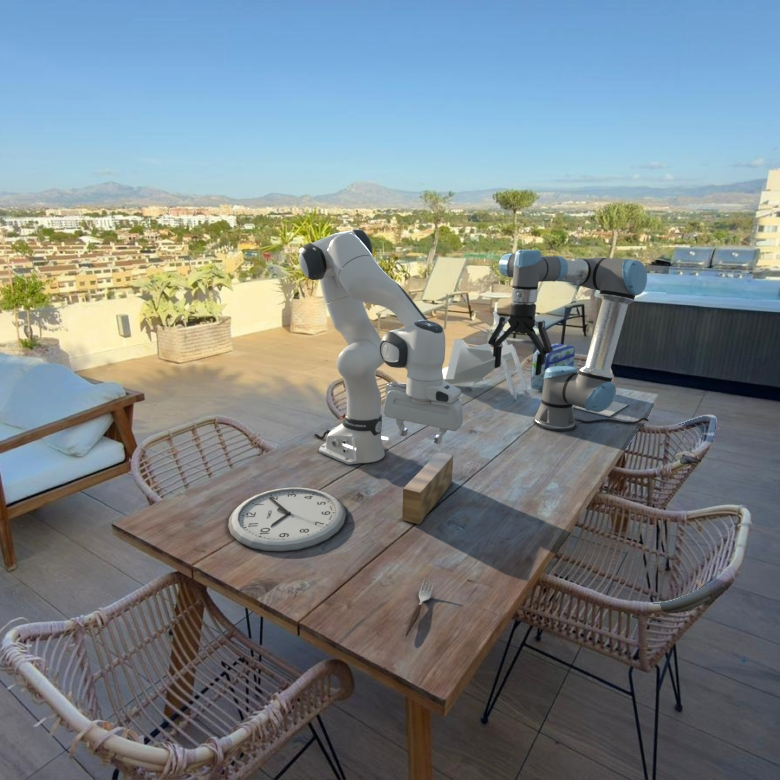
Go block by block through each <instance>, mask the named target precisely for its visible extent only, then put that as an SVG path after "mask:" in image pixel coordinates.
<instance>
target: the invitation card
mask: <svg viewBox="0 0 780 780" xmlns="http://www.w3.org/2000/svg"><path fill="white" fill-rule="evenodd" d="M628 406H629V404H627V403H623V402H618V401H614V400H613V401H612V403H611V404H610V406H609V407H607V408H606V409H605V410H604V411H601V412H594V411H590V410H586V409H584V408H581V407H578V406H574V407H573V409H575V410H581V411H584V412H587V413H593V414H596V415H600V416H604V417H608V418H609V417H611V416H613V415H614V414H616V413H617V412H619V411H621V410H623V409H624V408H626V407H628Z"/></svg>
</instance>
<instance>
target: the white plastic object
mask: <svg viewBox="0 0 780 780" xmlns="http://www.w3.org/2000/svg"><path fill="white" fill-rule="evenodd" d="M492 315H493V319H494V321H495V324H496V325H495V326H496V327H497V326H498V324H499V319H500V315H499V314H498V312H497V311H496V310H495V311H492ZM504 333H505V331H504V328H503V329H502V331H501V332H500V334H499V338H500V337H501V336H502V335H503V334H504ZM490 345H491V344H488V342H487V343H483V344H479V345H473V346H469V345H468V343H466V342H465V340H464V339H463V338H460V339H458V338H454V340H453V344H452V349H451V353H450V357H449V362H448V366H446V367H444V368H442V373H443V380H444V381H446V382H447V383H449V384H451V385H458V384H467V383H468V384H469V383H473V384H477V383H480V382H482V381H484V378H485V377H486V376H487V375H489V374H490V373H492V372H494V371H495V370H496V369H497V368H494V367H495V357H493V347H491V346H490ZM501 345H502V352H501V364H500V366H502V370H503V373H504V376H505V380H506V383H507V386H508V390H509V393H510V394H511V395H512V397H513V398H514V399H515V400H517V392H516V391H517V390H516V388H515V385H514V381H513V378H512V375H511V371H510V369H509V365H508V361H510V360H513V363H514V366H515V369H516V372H517V376H518V380H519V382H520V385H521V389H522V391H523V393H524V395H525V396H526V397H528V396H531V395H530V390H529V388H528V387H529V386H528V384H527V381H526V378H525V375H524V371H523V369H522V368H523V367H522V366H521V362H520V359H519V355H518V352H517V349H516V347H515V346H514V345H513V343H511V344H508V341H507V338H506V339H505V340H504V341H503V342H502V343H501Z"/></svg>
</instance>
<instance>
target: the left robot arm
mask: <svg viewBox="0 0 780 780" xmlns="http://www.w3.org/2000/svg"><path fill="white" fill-rule="evenodd" d="M297 256H298V257H297V258H298V265H299V268H300V270H301V272H302V273H303V274H304V276H305V278H307V279H308V280H311V281H319V284H320V289H321V293H322V296H323V300H324V302H325V306H326V308H327V311H328V314H329V316H330V317H329V318H330V320H331V322H332V324H333V327H334V329H335V330H336V331H337V332H339V334H341V336H342V337H343V339H344V340H345V341H346V343H347V346H345V347H344V348H343V349H342V350H341V352H340V353H339V354H338V357H337V359H336V369H337V371H338V373H339V374H340V376H341V377H342V380H343V383H344V387H345V395H346V412H345V413H343V414H342V415H340V416H339V420H340V421H341V420H342V423H340V424H339V425H335V426H333V427H331V428H328V429H326V431H324V433H323V434H322V435H319V434H317V433H315V434H314V436H315V437H316V438H318V439H320V440H321V439H325V438H326V439H325V442H324V443H322V445H320V447H319V449H318V452H319V453H320V454H322V455H325V456H327V457H329V458H332V459H334V460H336V461H338V462H341V463H343V464H346V465H356V464H370V463H375V462H378V461H380V460H382V459H383V458H384V457H385V456H386V451H385V449H384V444H383V440H385V441H389V437H388V436H383V435H382V428H383V415H382V413H381V410H382V408H381V407H382V406H381V405H382V392H381V390H380V388H379V386H378V382H377V374H376V373H377V370H378V369H379V368H380V367H382V366H383V365H384V364H385V365H387V367H391V368H394V369H402V368H403V369H406V371H407V374H406V383H403V382H397V381H391V382H389V383H387V384H386V385H385V390H384V392H385V399H384V405H383V414H384V416H385V417H386V418H390V419H395V423H396V425H397V427H398V429H399V436H402V437H406V436H407V435H408V427H406V426H405V424H404V421H405V422H409V423H413V424H418V425H423V426H427V427H432V428H437V429H439V430H438V432H439V434H436V435H435V436H434V441H433V444H436V445H441V444H442V442H443V436H444V435H445V434H446V432H447V431H451V432H457V431H458V430H459V429H460V428H461V427H462V425H463V418H464V417H463V416H464V415H463V413H464V411H463V410H464V409H463V403H462V401H461V399H459V398H460V397H461V394H462V391H461V389H460V388H459V387H458V386H455V385H454V384H449V383H447V382H446V381H444V380H443V373H442V369H443V365H444V363H445V360H446V359H445V357H446V334H445V330H444V327H443V326H442V325H440V323H438V322H436V321H433V320H428V318H427V317H426V316H425V314H423V312H422V311H421V309H420V308H419V307H418V306H417V304H416V302H414V301H413V299H412V298H411V297H410V295H409V294H408V293H407V292H406V290H405V289H404V287H402V286H401V285H400V284H399V283H397V281H395V280H394V279H393V278H391V276H389V275H388V274H387V273H386V272H385V271H384V270H383V269H382V267H381V266H380V265H379V264H378V262H377V261H376V259H375V257H374V256H373V244H372V242H371V239H370V237H369V235H368V234H367V233H366V232H365V231H364V230H363V229H360V228H359V229H358V228H355V229H349V230H348V231H341V232H337V233H333V234H330V235H328V236H326V237H322V238H320V239H318V240H315V241H313V242H308V243H306V244H304V245H303V246H301V247H300V248H299V251H298V254H297ZM365 304H372V305H377V306H380V307H382V308H385V309H387V310H389V311H390V312H391V313H393V314H394V315H395V316H396V318H397V319H398V320H399V322H400V323H401V325H402V326H403V327H402V328H396V329H392V330H389V331H386V332H385V333H384V334H383V335H382V337H381V336H380V335H379V332H378V331H377V329H376V328H375V326H374V324H373V323H372V320H371V319H370V317H369V315H368V311H367V309H366V307H365ZM326 435H327V436H326Z"/></svg>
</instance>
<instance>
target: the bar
mask: <svg viewBox="0 0 780 780" xmlns="http://www.w3.org/2000/svg"><path fill="white" fill-rule="evenodd" d="M453 470H454V455H453V454H449V453H444V452H439V451H438V452H437V453H436V454H434V456H433V457H432V458H431V459H430V460H429V461H427V463H426V465H424V467H423V468H422V469H421V470H419V471H418V473H416V475H415V476H413V478H411V480H410V481H409V482H408V483H407V484H406V485H405V486H404V487H403V488H402V513H401V515H402V516H401V520H402V521H405V522H409V523H412V524H416V525H420V524H421V523H422V522H423V520H424V519H425V517H427V516H428V514H429V513H430V512H431V510H432V509H433V508H434V507H435V505H436V504H437V502H439V500H440V499H441V498H442V496H443V495H444V493H445V492H446V491H447V490H448V489H449V487H451V485H452V484H453Z"/></svg>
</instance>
